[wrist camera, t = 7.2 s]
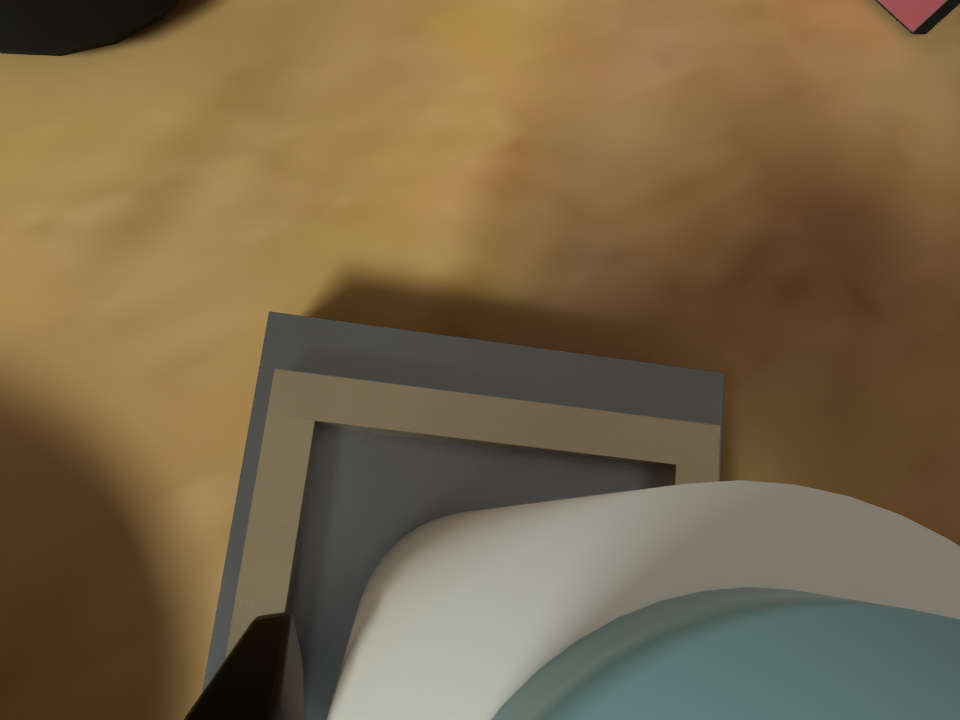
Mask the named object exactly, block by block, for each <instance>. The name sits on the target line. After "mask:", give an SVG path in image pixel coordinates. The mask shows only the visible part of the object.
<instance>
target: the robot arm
mask: <svg viewBox="0 0 960 720" xmlns="http://www.w3.org/2000/svg"><path fill="white" fill-rule="evenodd" d="M184 720H304V707H303V665H302V657H301V652H300V647H299V642H298V637H297V632H296V627H295V622H294V617H293V615H292V614H291V613H289V612H281V613H274V614H267V615H260V616H258V617H256V618H255V619H254V620H253V621H252V622H251V624H250V625H249V626H248V628H247V629H246V631H245V632H244V634H243V635H242V636H241V638H240V639H239V641H238V642H237V644H236V645H235V647H234V648H233V649H232V651H231V652H230V654H229V655H228V657H227V658H226V659H225V661H224V662H223V664H222V665H221V667H220V668H219V670H218V671H217V672H216V674H215V675H214V677H213V678H212V680H211V681H210V683H209V684H208V685H207V687H206V688H205V690H204V691H203V693H202V694H201V695H200V697H199V698H198V700H197V701H196V703H195V704H194V706H193V707H192V708H191V710H190V711H189V713H188V714H187V716H186V717H185V719H184Z"/></svg>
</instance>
